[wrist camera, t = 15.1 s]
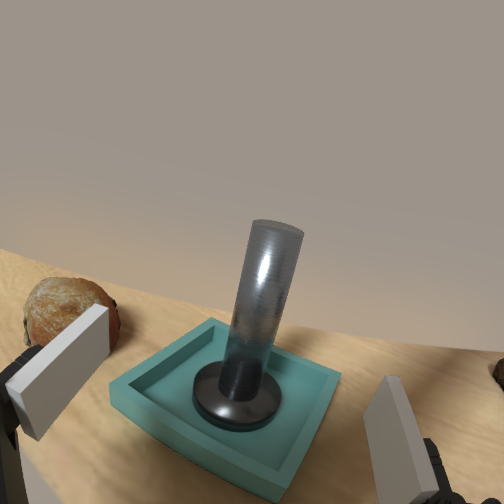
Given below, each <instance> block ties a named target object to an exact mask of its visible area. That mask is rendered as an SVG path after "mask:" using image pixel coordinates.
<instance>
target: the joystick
mask: <svg viewBox="0 0 504 504" xmlns="http://www.w3.org/2000/svg"><path fill="white" fill-rule="evenodd" d="M303 237H304V232H303V231H301V230H300V229H298V228H296V227H294V226H291V225H288V224H285V223H281V222H277V221H271V220H254V221H253V223H252V228H251V232H250V237H249V242H248V246H247V251H246V255H245V260H244V265H243V269H242V274H241V279H240V283H239V288H238V293H237V297H236V302H235V307H234V311H233V316H232V321H231V325H230V330H229V335H228V339H227V344H226V349H225V354H224V358H223V361H216V362H212V363H210V364H207V365H206V366H204V367H202V368H201V369H200V370H199V371H198V372H197V374H196V376H195V378H194V383H193V390H192V403H193V405H194V408H195V410H196V411H197V412H198V414H199V415H200V416H201V417H202V418H203V419H204V420H205V421H207V422H208V423H210V424H211V425H213V426H215V427H217V428H220V429H222V430H226V431H230V432H239V433H245V432H253V431H256V430H259V429H262V428H264V427H265V426H267V425H268V424H269V423H271V421H272V420H273V419H274V417H275V415H276V413H277V410H278V408H279V405H280V403H281V398H282V393H281V389H280V387H279V384H278V383H277V381H276V380H275V379H274V378H273V377H272V376H271V375H270V374H269V373H267V372H266V371H265V370H266V366H267V363H268V360H269V357H270V353H271V350H272V347H273V343H274V340H275V337H276V333H277V330H278V327H279V323H280V320H281V316H282V313H283V310H284V306H285V302H286V299H287V296H288V292H289V288H290V284H291V281H292V278H293V274H294V270H295V267H296V263H297V259H298V256H299V252H300V248H301V244H302V241H303Z"/></svg>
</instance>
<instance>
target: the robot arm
mask: <svg viewBox="0 0 504 504" xmlns="http://www.w3.org/2000/svg"><path fill="white" fill-rule="evenodd" d="M109 354H110V349H109V308H107V307H104V306H102V305H99V304H96V303H95V304H94V305H93V306H91V307H90V308H89V309H88V310H87V311H85V312H84V313H83V314H82V315H81V316H80V317H78V318H77V319H76V320H75V321H74V322H73V323H71V324H70V325H69V326H68V327H67V328H66V329H65V330H63V331H62V332H61V333H60V334H59V335H58V336H57V337H55V338H54V339H53V340H52V341H51V342H50V343H49V344H48V345H46V346H45V347H43V346H41V345H39V344H38V345H35V346H33V347H30V348H28V349H27V350H26V351H25V352H23V353H22V354H21V356H19V357H18V358H17V359H15V361H13V362H12V363H11V364H10V365H9V366H8V367H6V368H5V369H4V370H3V371H2V372H1V373H0V504H29V503H28V498H27V494H26V489H25V484H24V478H23V472H22V467H21V459H20V452H19V444H18V434H17V431H16V428H17V427H18V426H19V424H20V425H21V427H22V429H23V431H24V433H25V434H27V435H28V436H30V437H32V438H33V439H35V440H36V441H38V442H39V440H40V439H41V438H42V437H43V435H44V434H45V433H46V431H47V430H48V429H49V428H50V426H51V425H52V424H53V423H54V421H55V420H56V419H57V417H58V416H59V415H60V414H61V412H62V411H63V410H64V409H65V407H66V406H67V405H68V404H69V402H70V401H71V400H72V399H73V398H74V396H75V395H76V394H77V393H78V391H79V390H80V389H81V388H82V386H83V385H84V384H85V383H86V382H87V380H88V379H89V378H90V377H91V376H92V374H93V373H94V372H95V371H96V370H97V368H98V367H99V366H100V365H101V364H102V362H103V361H104V360H105V359H106V358H107V356H108V355H109ZM363 419H364V424H365V429H366V434H367V440H368V445H369V450H370V456H371V461H372V467H373V473H374V479H375V485H376V491H377V497H378V504H471V503H466V501H465V500H464V498H463V497H462V496H461V495H459V494H458V493H455V492H452V490H451V487H450V484H449V481H448V478H447V475H446V472H445V469H444V466H443V465H442V460H441V458H440V455H439V452H438V449H437V447H436V445H435V444H434V443H433V442H432V441H431V439H430V438H422V435H421V432H420V430H419V427H418V424H417V421H416V419H415V416H414V413H413V410H412V408H411V405H410V403H409V400H408V397H407V395H406V392H405V390H404V387H403V385H402V382H401V380H400V377H399V376H391V375H385V377H384V378H383V380H382V382H381V384H380V386H379V388H378V389H377V391H376V393H375V395H374V397H373V398H372V400H371V402H370V404H369V405H368V407H367V409H366V410H365V412H364V414H363ZM481 504H501V502H500V501H499V500H497V499H495V498H488V499H486V500H485V501H484V502H482V503H481Z"/></svg>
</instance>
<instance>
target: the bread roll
mask: <svg viewBox="0 0 504 504" xmlns="http://www.w3.org/2000/svg"><path fill="white" fill-rule="evenodd" d="M95 303H96V304H99V305H102V306H104V307H107V308H109V349H110V350H111V349H112V348H113V347H114V346H115V343H116V341H117V340H118V337H119V329H120V325H121V323H120V319H119V315H118V310H117V309H116V308H115V307H116V306H117V304H116V302H115V300H113V299H112V298H111V297H110V296H108V294H107V293H106V292H105V291H104V290H103V289H102V288H101V287H100V286H98V285H97V284H96V283H94V282H92V281H88V280H85V279H83V278H78V279H76V278H64V277H61V278H58V277H49V278H46V279H44V280H42V281H41V282H39V283H38V284H37V285H36V286H35V287H34V289H33V290H32V292H31V293H30V296H29V297H28V299H27V301H26V304H25V307H24V308H23V310H24V314H25V315H24V320H23V322H24V328H25V335H24V343H25V345H29V346H30V347H33V346H35V345H38V344H39V345H41V346H43V347H45V346H46V345H48V344H49V343H50V342H51V341H52V340H53V339H54V338H55V337H57V336H58V335H59V334H60V333H61V332H62V331H63V330H65V329H66V328H67V327H68V326H69V325H70V324H71V323H73V322H74V321H75V320H76V319H77V318H78V317H80V316H81V315H82V314H83V313H84V312H85V311H87V310H88V309H89V308H90V307H91V306H93V305H94V304H95Z"/></svg>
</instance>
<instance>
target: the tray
mask: <svg viewBox="0 0 504 504" xmlns="http://www.w3.org/2000/svg"><path fill="white" fill-rule="evenodd" d="M229 330H230V326H229V325H227V324H225V323H223V322H221V321H219V320H216V319H214V318H212V317H211V318H210V319H208V320H207V321H205V322H204V323H202V324H201V325H199V326H197V327H196V328H194V329H193V330H191V331H190V332H188V333H187V334H185V335H184V336H182V337H181V338H179V339H178V340H176V341H175V342H173V343H171V344H170V345H168V346H167V347H165V348H164V349H162V350H161V351H159V352H158V353H156V354H154V355H153V356H151V357H150V358H148V359H147V360H145V361H143V362H142V363H140V364H139V365H137V366H136V367H134V368H132V369H131V370H129V371H128V372H126V373H124V374H123V375H121V376H120V377H118V378H117V379H115V380H113V381H112V382H110V383H109V392H110V402H111V405H112V406H113V407H114V408H115V409H117V410H118V411H119V412H121V413H122V414H123V415H124V416H126V417H127V418H128V419H130V420H131V421H132V422H134V423H135V424H136V425H138V426H139V427H141V428H142V429H143V430H145V431H146V432H148V433H149V434H150V435H152V436H153V437H155V438H156V439H158V440H159V441H161V442H162V443H164V444H165V445H167V446H168V447H170V448H171V449H173V450H174V451H176V452H178V453H179V454H181V455H182V456H184V457H186V458H187V459H189V460H191V461H192V462H194V463H196V464H197V465H199V466H201V467H202V468H204V469H206V470H208V471H209V472H211V473H213V474H215V475H217V476H219V477H220V478H222V479H224V480H226V481H228V482H230V483H232V484H234V485H236V486H238V487H240V488H242V489H244V490H246V491H248V492H250V493H252V494H254V495H256V496H259V497H261V498H263V499H265V500H267V501H270V502H272V503H274V504H277V503H278V502H279V500H280V499H281V497H282V496H283V494H284V493H285V492H286V490H287V489H288V487H289V485H290V483H291V481H292V479H293V477H294V476H295V474H296V472H297V470H298V468H299V466H300V464H301V462H302V460H303V458H304V456H305V454H306V452H307V450H308V448H309V446H310V444H311V442H312V440H313V438H314V436H315V434H316V432H317V429H318V427H319V425H320V423H321V421H322V418H323V416H324V414H325V412H326V410H327V407H328V405H329V403H330V400H331V398H332V396H333V393H334V391H335V388H336V386H337V384H338V381H339V379H340V376H341V374H342V373H340V372H337V371H335V370H332V369H330V368H327V367H325V366H322V365H320V364H317V363H315V362H312V361H310V360H307V359H305V358H302V357H300V356H298V355H295V354H293V353H290V352H288V351H286V350H283V349H281V348H279V347H276V346H274V345H273V347H272V350H271V353H270V357H269V360H268V363H267V366H266V370H265V371H266V372H267V373H269V374H270V375H271V376H272V377H273V378H274V379H275V380H276V381H277V383H278V384H279V387H280V389H281V393H282V398H281V403H280V405H279V408H278V410H277V413H276V415H275V417H274V419H273V420H272V421H271V423H269V424H268V425H267V426H265V427H264V428H262V429H259V430H256V431H253V432H245V433H239V432H230V431H226V430H222V429H220V428H217V427H215V426H213V425H211V424H210V423H208V422H207V421H205V420H204V419H203V418H202V417H201V416H200V415H199V414H198V412H197V411H196V410H195V408H194V405H193V403H192V390H193V383H194V378H195V376H196V374H197V372H198V371H199V370H200V369H201V368H202V367H204V366H206V365H207V364H210V363H212V362H216V361H223V358H224V354H225V349H226V344H227V339H228V335H229Z"/></svg>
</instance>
